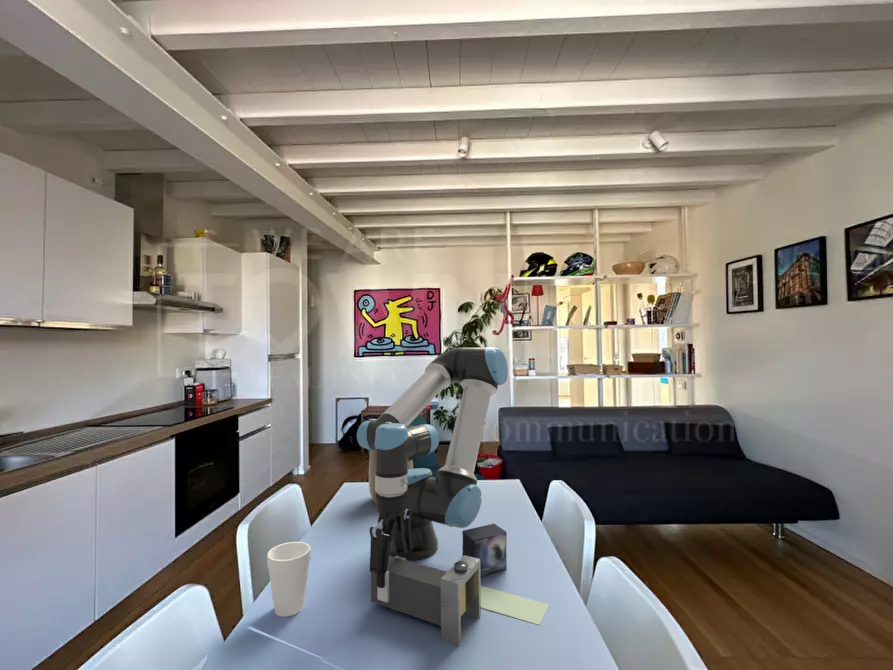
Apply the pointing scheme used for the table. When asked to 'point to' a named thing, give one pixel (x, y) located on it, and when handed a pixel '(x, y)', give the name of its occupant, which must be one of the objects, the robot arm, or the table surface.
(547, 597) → the table surface
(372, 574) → the plug
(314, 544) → the table surface
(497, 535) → the small box
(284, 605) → the foam cup
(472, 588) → the frame
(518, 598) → the mat
